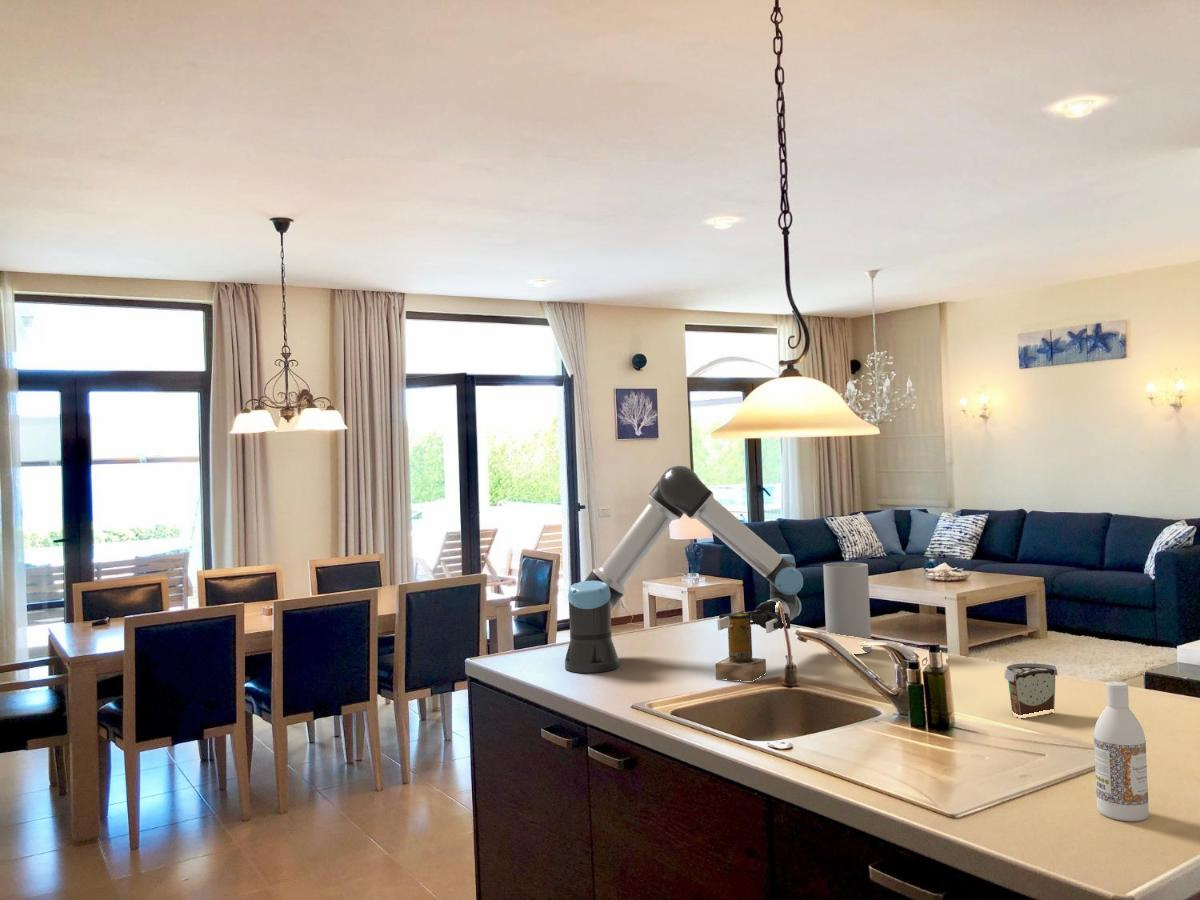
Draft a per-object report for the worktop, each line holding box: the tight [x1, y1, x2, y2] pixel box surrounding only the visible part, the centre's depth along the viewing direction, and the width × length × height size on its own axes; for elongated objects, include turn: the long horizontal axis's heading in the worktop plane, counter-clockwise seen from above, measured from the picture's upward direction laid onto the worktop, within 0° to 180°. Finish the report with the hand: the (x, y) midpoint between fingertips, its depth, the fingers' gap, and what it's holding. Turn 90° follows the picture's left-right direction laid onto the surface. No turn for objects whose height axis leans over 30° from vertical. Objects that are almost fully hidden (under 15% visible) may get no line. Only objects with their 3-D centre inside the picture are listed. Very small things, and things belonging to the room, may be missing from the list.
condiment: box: [722, 612, 763, 664], centre depth 243 cm, size 7×8×12 cm
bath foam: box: [1093, 680, 1150, 822], centre depth 143 cm, size 7×7×20 cm
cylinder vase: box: [822, 562, 872, 654], centre depth 271 cm, size 12×12×25 cm
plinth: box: [714, 656, 767, 682], centre depth 244 cm, size 10×10×4 cm
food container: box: [1003, 662, 1059, 715], centre depth 200 cm, size 12×6×10 cm, turn 111°
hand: (742, 626), depth 245 cm, fingers open, 13 cm apart
